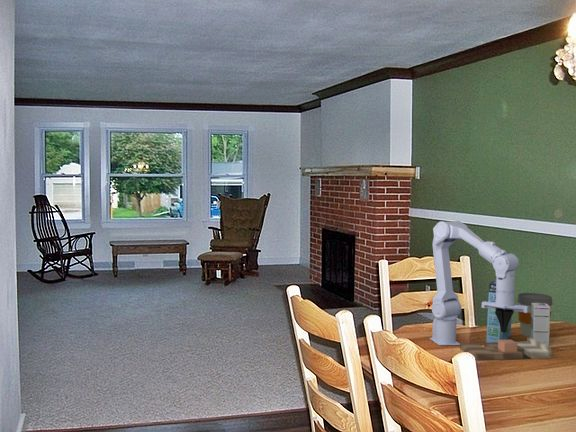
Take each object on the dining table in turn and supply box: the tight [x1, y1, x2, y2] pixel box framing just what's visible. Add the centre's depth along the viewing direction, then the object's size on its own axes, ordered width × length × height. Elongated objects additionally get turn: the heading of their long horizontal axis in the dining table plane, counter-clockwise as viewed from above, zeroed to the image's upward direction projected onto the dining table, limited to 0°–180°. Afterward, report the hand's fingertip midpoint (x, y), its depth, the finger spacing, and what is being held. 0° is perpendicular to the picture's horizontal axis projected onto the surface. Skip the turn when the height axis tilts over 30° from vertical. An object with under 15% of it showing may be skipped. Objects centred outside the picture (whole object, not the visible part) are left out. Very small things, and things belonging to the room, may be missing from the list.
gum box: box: [485, 278, 512, 343], centre depth 232 cm, size 20×5×23 cm, turn 149°
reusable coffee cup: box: [516, 292, 553, 337], centre depth 243 cm, size 13×13×15 cm
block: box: [498, 339, 517, 352], centre depth 213 cm, size 4×4×3 cm
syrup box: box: [530, 303, 551, 347], centre depth 230 cm, size 6×6×14 cm
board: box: [459, 336, 552, 361], centre depth 216 cm, size 14×26×4 cm, turn 98°
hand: (503, 331), depth 209 cm, fingers closed
